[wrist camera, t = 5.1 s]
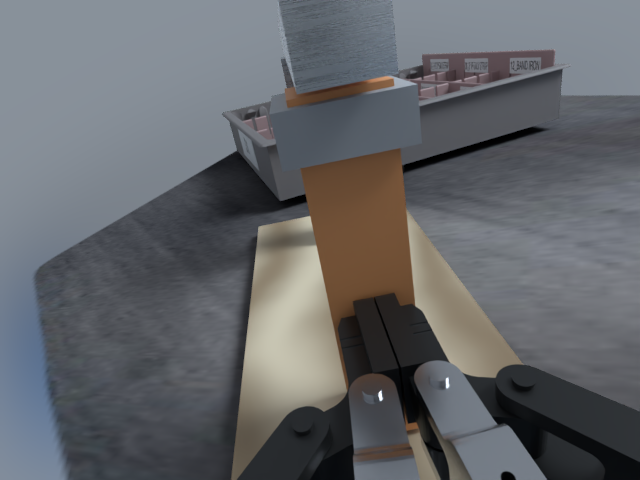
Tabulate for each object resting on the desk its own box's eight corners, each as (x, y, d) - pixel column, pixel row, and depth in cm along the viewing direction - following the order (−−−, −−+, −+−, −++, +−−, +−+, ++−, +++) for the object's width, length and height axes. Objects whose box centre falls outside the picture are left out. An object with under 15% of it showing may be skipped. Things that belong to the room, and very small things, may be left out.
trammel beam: (344, 211, 40) (312, 21, 33) (441, 469, 16) (403, -30, 9) (313, 217, 40) (275, 29, 33) (366, 485, 16) (263, -2, 9)
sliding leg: (414, 365, 21) (383, 67, 14) (442, 434, 17) (417, 76, 11) (335, 381, 21) (270, 90, 14) (347, 453, 17) (267, 106, 11)
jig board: (399, 207, 41) (398, 197, 41) (625, 523, 14) (630, 506, 14) (261, 235, 41) (258, 226, 41) (227, 605, 14) (218, 590, 14)
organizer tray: (234, 158, 73) (218, 100, 69) (430, 106, 82) (427, 52, 78) (277, 217, 45) (254, 126, 41) (567, 128, 54) (574, 46, 50)
